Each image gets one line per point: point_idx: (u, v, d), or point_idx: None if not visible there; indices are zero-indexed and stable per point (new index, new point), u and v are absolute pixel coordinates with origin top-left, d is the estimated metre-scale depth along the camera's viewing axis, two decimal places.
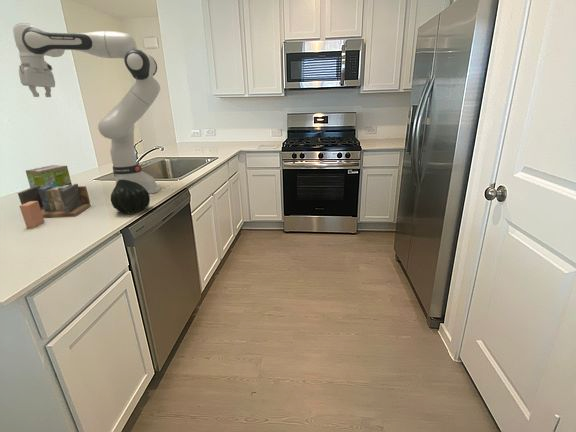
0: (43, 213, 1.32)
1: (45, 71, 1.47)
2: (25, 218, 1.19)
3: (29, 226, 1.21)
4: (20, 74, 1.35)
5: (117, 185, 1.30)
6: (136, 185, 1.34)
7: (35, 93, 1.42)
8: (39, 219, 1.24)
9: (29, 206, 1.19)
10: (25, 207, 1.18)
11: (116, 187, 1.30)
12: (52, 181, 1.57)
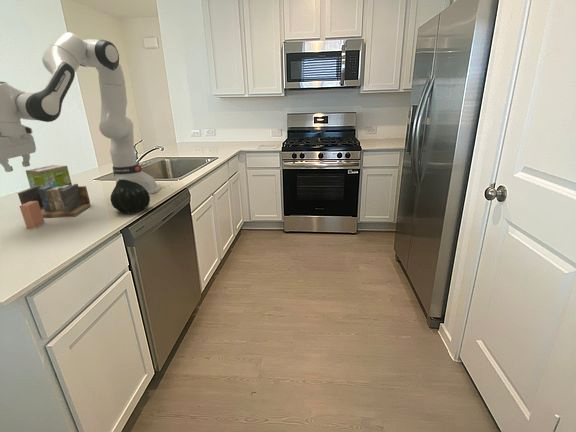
0: (43, 213, 1.32)
1: (22, 136, 1.16)
2: (25, 218, 1.19)
3: (29, 226, 1.21)
4: None
5: (117, 185, 1.30)
6: (136, 185, 1.34)
7: (7, 167, 1.11)
8: (39, 219, 1.24)
9: (29, 206, 1.19)
10: (25, 207, 1.18)
11: (116, 187, 1.30)
12: (52, 181, 1.57)
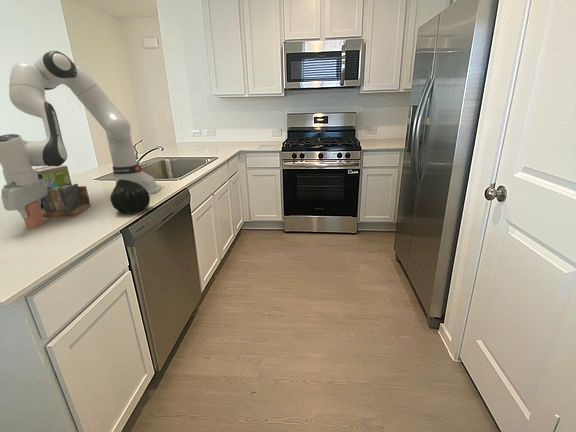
0: (43, 213, 1.32)
1: (35, 183, 1.21)
2: (25, 218, 1.19)
3: (29, 226, 1.21)
4: (3, 199, 1.10)
5: (117, 185, 1.30)
6: (136, 185, 1.34)
7: (24, 214, 1.17)
8: (39, 219, 1.24)
9: (29, 206, 1.19)
10: (25, 207, 1.18)
11: (116, 187, 1.30)
12: (52, 181, 1.57)
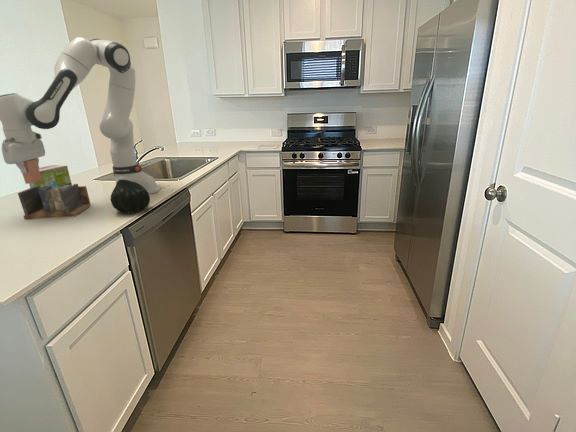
0: (43, 213, 1.32)
1: (33, 142, 1.30)
2: (24, 174, 1.28)
3: (28, 182, 1.29)
4: (3, 152, 1.18)
5: (117, 185, 1.30)
6: (136, 185, 1.34)
7: (23, 169, 1.26)
8: (37, 176, 1.32)
9: (27, 162, 1.27)
10: (24, 163, 1.26)
11: (116, 187, 1.30)
12: (52, 181, 1.57)
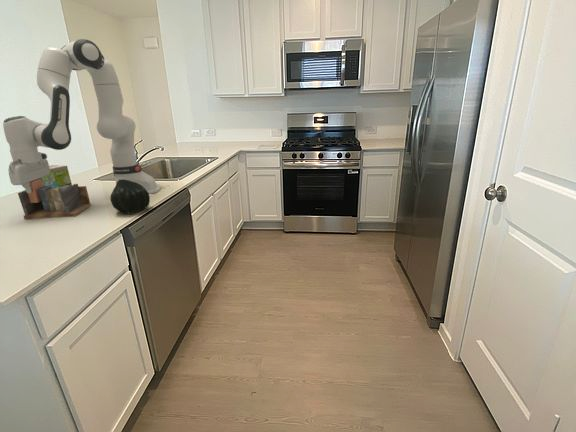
0: (43, 213, 1.32)
1: (39, 162, 1.33)
2: (29, 193, 1.31)
3: (32, 201, 1.32)
4: (10, 174, 1.21)
5: (118, 185, 1.30)
6: (137, 185, 1.34)
7: (28, 189, 1.29)
8: None
9: (33, 182, 1.30)
10: (29, 183, 1.29)
11: (116, 187, 1.30)
12: (52, 181, 1.57)
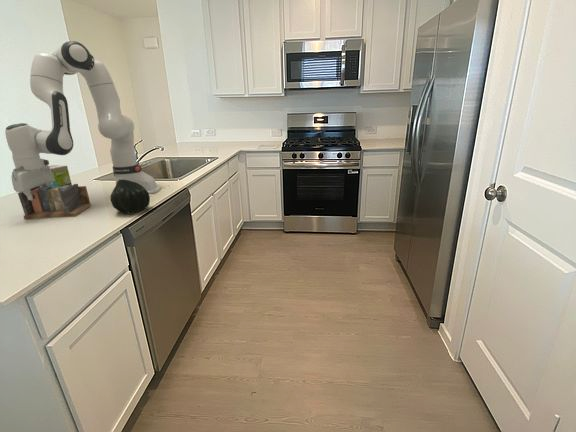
0: (43, 213, 1.32)
1: (41, 168, 1.34)
2: (33, 203, 1.32)
3: (37, 210, 1.33)
4: (13, 181, 1.22)
5: (117, 185, 1.30)
6: (136, 185, 1.34)
7: (30, 196, 1.29)
8: None
9: (37, 192, 1.31)
10: (33, 193, 1.31)
11: (116, 187, 1.30)
12: (52, 181, 1.57)
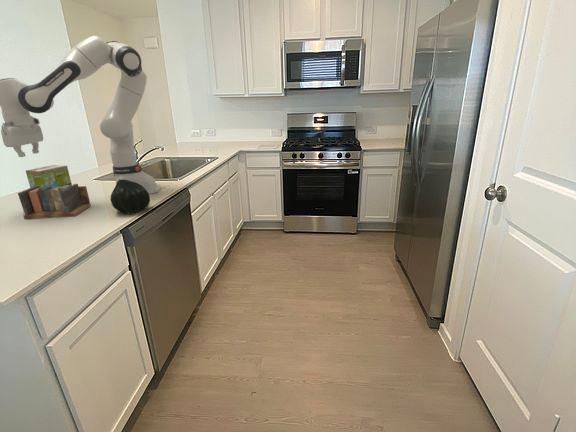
0: (43, 213, 1.32)
1: (31, 126, 1.33)
2: (33, 203, 1.32)
3: (37, 210, 1.33)
4: (3, 135, 1.21)
5: (117, 185, 1.30)
6: (136, 185, 1.34)
7: (20, 153, 1.28)
8: None
9: (37, 192, 1.31)
10: (33, 193, 1.31)
11: (116, 187, 1.30)
12: (52, 181, 1.57)
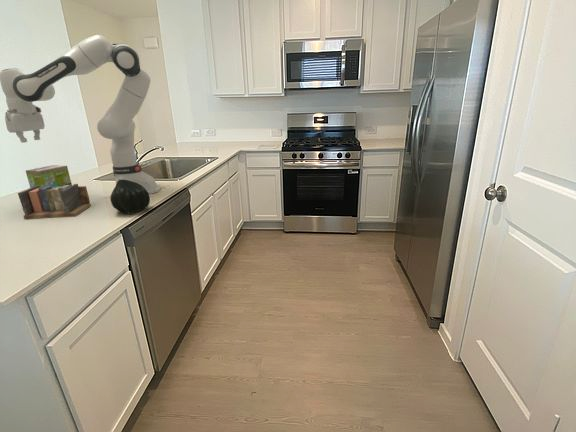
0: (43, 213, 1.32)
1: (33, 114, 1.42)
2: (33, 203, 1.32)
3: (37, 210, 1.33)
4: (6, 121, 1.30)
5: (117, 185, 1.30)
6: (136, 185, 1.34)
7: (23, 139, 1.37)
8: None
9: (37, 192, 1.31)
10: (33, 193, 1.31)
11: (116, 187, 1.30)
12: (52, 181, 1.57)
